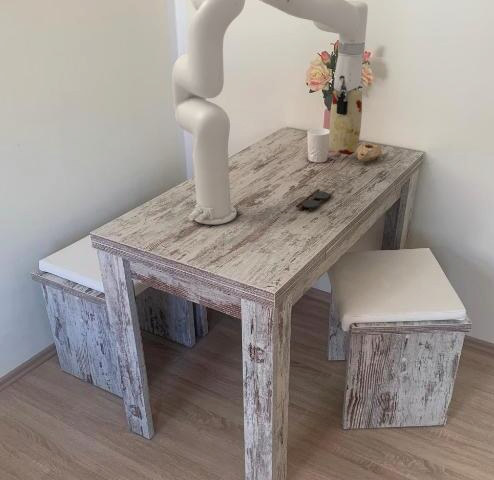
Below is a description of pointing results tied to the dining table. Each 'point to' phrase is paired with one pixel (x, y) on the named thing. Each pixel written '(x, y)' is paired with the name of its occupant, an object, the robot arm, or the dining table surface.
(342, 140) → the food model
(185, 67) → the robot arm
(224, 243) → the dining table surface
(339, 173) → the dining table surface
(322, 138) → the white cup
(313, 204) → the sunglasses
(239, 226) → the dining table surface
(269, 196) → the dining table surface
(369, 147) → the pottery oil lamp
